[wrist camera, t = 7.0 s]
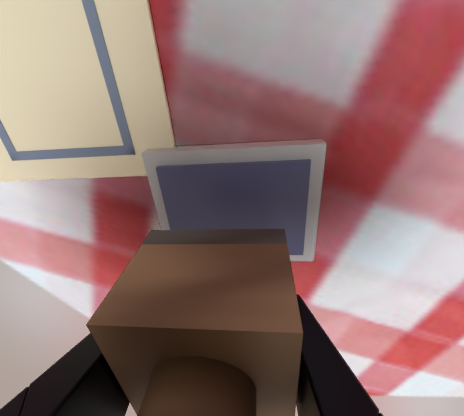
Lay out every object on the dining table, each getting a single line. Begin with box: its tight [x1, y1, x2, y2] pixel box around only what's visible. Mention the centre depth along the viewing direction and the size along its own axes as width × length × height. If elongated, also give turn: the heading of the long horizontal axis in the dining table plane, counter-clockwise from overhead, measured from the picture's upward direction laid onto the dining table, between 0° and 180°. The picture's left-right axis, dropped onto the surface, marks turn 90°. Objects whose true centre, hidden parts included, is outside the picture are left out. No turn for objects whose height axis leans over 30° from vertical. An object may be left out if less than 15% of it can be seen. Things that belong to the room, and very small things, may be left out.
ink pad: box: [141, 139, 327, 261], centre depth 13 cm, size 9×7×1 cm
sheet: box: [0, 0, 176, 182], centre depth 12 cm, size 12×10×1 cm
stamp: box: [86, 229, 303, 416], centre depth 7 cm, size 4×4×6 cm
